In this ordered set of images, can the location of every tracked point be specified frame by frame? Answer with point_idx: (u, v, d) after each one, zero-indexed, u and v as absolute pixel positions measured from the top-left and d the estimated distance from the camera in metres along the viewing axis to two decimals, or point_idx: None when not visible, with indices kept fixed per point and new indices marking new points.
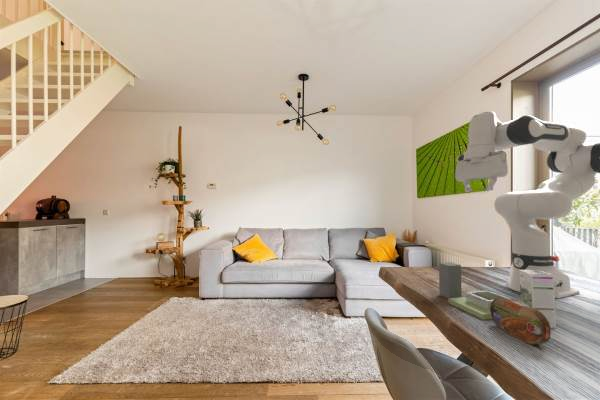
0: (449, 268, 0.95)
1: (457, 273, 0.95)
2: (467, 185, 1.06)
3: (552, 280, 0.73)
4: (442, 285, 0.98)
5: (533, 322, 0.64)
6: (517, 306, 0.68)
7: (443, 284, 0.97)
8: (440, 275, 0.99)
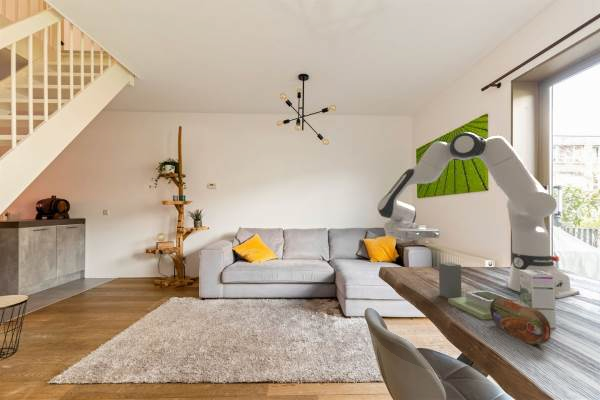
0: (449, 268, 0.95)
1: (456, 273, 0.95)
2: None
3: (552, 280, 0.73)
4: (442, 285, 0.98)
5: (533, 322, 0.64)
6: (517, 306, 0.68)
7: (443, 284, 0.97)
8: (440, 275, 0.99)
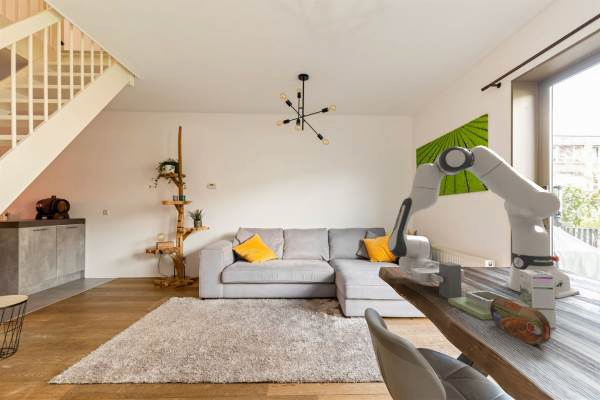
0: (449, 268, 0.95)
1: (456, 273, 0.95)
2: None
3: (552, 280, 0.73)
4: (442, 285, 0.98)
5: (533, 322, 0.64)
6: (517, 306, 0.68)
7: (443, 284, 0.97)
8: (440, 274, 0.99)
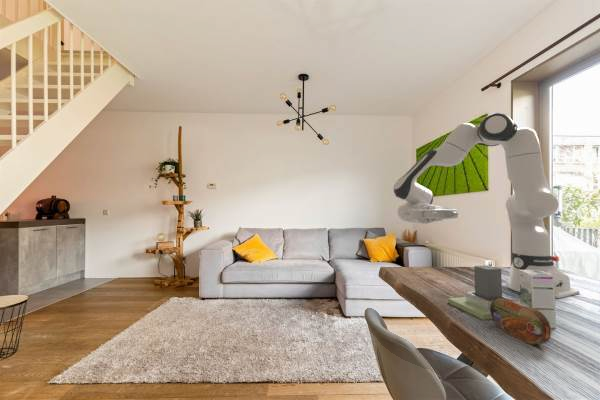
0: (488, 273, 0.83)
1: (496, 277, 0.83)
2: None
3: (552, 280, 0.73)
4: (479, 291, 0.86)
5: (533, 322, 0.64)
6: (517, 306, 0.68)
7: (480, 290, 0.85)
8: (475, 279, 0.87)
